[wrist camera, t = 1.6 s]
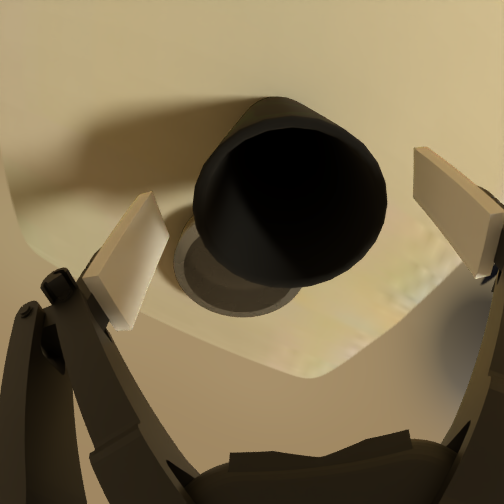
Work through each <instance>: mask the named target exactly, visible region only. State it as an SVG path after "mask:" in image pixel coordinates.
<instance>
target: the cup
mask: <svg viewBox="0 0 504 504" xmlns="http://www.w3.org/2000/svg"><path fill="white" fill-rule="evenodd" d="M386 209H387V193H386V183H385V180H384V177H383V175H382V172H381V170H380V167H379V164H378V162H377V161H376V159H375V158H374V157H373V155H372V154H371V153H370V151H369V150H368V149H367V148H366V146H365V145H364V144H363V143H362V142H361V141H359V140H358V139H357V138H355V137H354V136H353V135H351V134H350V133H349V132H347V131H346V130H345V129H343V128H342V127H340V126H338V125H337V124H335V123H334V122H332V121H330V120H329V119H327V118H325V117H323V116H322V115H320V114H318V113H317V112H315V111H313V110H311V109H310V108H308V107H306V106H304V105H302V104H301V103H299V102H297V101H295V100H292V99H289V98H286V97H270V98H266V99H263V100H261V101H258V102H257V103H255V104H254V105H253V106H251V107H250V108H249V109H248V111H247V112H246V113H245V114H244V115H243V116H242V118H241V119H240V120H239V121H238V122H237V124H236V125H235V126H234V127H233V128H232V130H231V131H230V132H229V133H228V135H227V136H226V137H225V138H224V140H223V141H222V142H221V143H220V145H219V146H218V147H217V148H216V150H215V151H214V152H213V153H212V155H211V156H210V157H209V159H208V160H207V161H206V162H205V164H204V165H203V168H202V170H201V172H200V175H199V177H198V180H197V182H196V185H195V189H194V198H193V214H194V220H195V225H196V229H197V231H198V234H199V236H200V238H201V240H202V242H203V244H204V246H205V248H206V249H207V250H208V251H209V252H210V254H211V255H212V256H213V257H214V259H215V260H216V261H217V262H218V263H219V264H221V265H222V266H223V267H225V268H226V269H227V270H229V271H230V272H231V273H232V274H234V275H236V276H239V277H241V278H243V279H245V280H247V281H249V282H251V283H255V284H259V285H263V286H267V287H274V288H299V287H307V286H313V285H316V284H319V283H322V282H325V281H328V280H331V279H333V278H335V277H336V276H338V275H340V274H342V273H344V272H346V271H347V270H349V269H350V268H351V267H352V266H354V265H355V264H356V263H357V262H358V261H360V260H361V259H362V258H363V257H364V256H365V255H366V253H367V252H368V251H369V249H370V248H371V247H372V246H373V244H374V243H375V242H376V240H377V237H378V235H379V233H380V231H381V229H382V226H383V224H384V220H385V214H386Z"/></svg>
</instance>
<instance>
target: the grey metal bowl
mask: <svg viewBox="0 0 504 504" xmlns="http://www.w3.org/2000/svg"><path fill="white" fill-rule="evenodd" d="M174 271H175V276H176V278H177V281H178V283H179V285H180V286H181V288H182V289H183V291H184V292H185V293H186V294H187V295H188V296H189V297H190V298H191V299H192V300H193V301H195V302H196V303H197V304H199V305H200V306H202V307H204V308H206V309H208V310H210V311H212V312H215V313H218V314H222V315H226V316H232V317H254V316H260V315H264V314H268V313H270V312H273V311H275V310H277V309H279V308H281V307H283V306H284V305H286V304H287V303H289V302H290V301H291V300H292V299H293V298H294V297H295V296H296V295H297V294H298V292H299V291H300V289H301V287H299V288H274V287H267V286H263V285H259V284H255V283H251V282H249V281H247V280H245V279H243V278H241V277H239V276H236V275H234V274H232V273H231V272H230V271H229V270H227V269H226V268H225V267H223V266H222V265H221V264H219V263H218V262H217V261H216V260H215V259H214V257H213V256H212V255H211V254H210V252H209V251H208V250H207V249H206V248H205V246H204V244H203V242H202V240H201V238H200V236H199V234H198V231H197V229H196V225H195V220H194V215H193V216H192V217H191V218H190V220H189V221H188V222H187V224H186V225H185V227H184V229H183V231H182V234H181V237H180V239H179V242H178V245H177V248H176V251H175V254H174Z"/></svg>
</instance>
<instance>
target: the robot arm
mask: <svg viewBox="0 0 504 504" xmlns="http://www.w3.org/2000/svg"><path fill="white" fill-rule="evenodd" d="M413 198H414V199H415V200H416V201H417V203H418V204H419V205H420V206H421V207H422V209H423V210H424V211H425V212H426V213H427V215H428V216H429V217H430V218H431V220H432V221H433V222H434V223H435V225H436V226H437V227H438V228H439V230H440V231H441V232H442V234H443V235H444V236H445V237H446V239H447V240H448V241H449V243H450V244H451V245H452V247H453V248H454V249H455V251H456V252H457V254H458V255H459V256H460V258H461V259H462V261H463V262H464V263H465V265H466V266H467V268H468V269H469V271H470V272H471V273H472V275H473V276H474V278H475V279H477V278H481V277H485V276H489V275H490V274H491V270H492V267H493V264H494V263H495V264H496V265H497V267H498V268H499V270H498V273H497V276H496V279H495V282H494V285H493V288H492V292H494V293H493V298H492V303H491V307H490V312H489V316H488V320H487V325H486V328H485V332H484V336H483V340H482V343H481V347H480V350H479V354H478V357H477V360H476V363H475V366H474V369H473V372H472V375H471V378H470V381H469V384H468V387H467V389H466V392H465V395H464V397H463V400H462V402H461V405H460V407H459V410H458V412H457V415H456V417H455V419H454V422H453V424H452V426H451V428H450V429H449V431H448V433H447V434H446V436H445V438H444V439H443V441H442V443H441V444H439V443H436V442H432V441H428V440H420V439H410V434H409V430H404V431H400V432H396V433H392V434H388V435H383V436H379V437H374V438H370V439H365V440H363V441H361V442H359V443H356V444H354V445H352V446H349V447H347V448H344V449H342V450H339V451H337V452H335V453H332V454H329V455H327V456H323V457H311V456H302V455H295V454H288V453H281V452H275V451H268V452H243V453H230V459H229V463H225V464H222V465H219V466H216V467H214V468H212V469H209V470H208V471H205V472H204V473H202V474H199V473H198V472H197V470H196V469H194V467H193V466H192V465H191V464H190V463H189V462H188V461H187V460H186V459H185V457H184V456H183V455H182V453H181V452H180V451H179V449H178V448H177V446H176V445H175V443H174V442H173V440H172V439H171V438H170V436H169V435H168V433H167V432H166V430H165V429H164V427H163V426H162V424H161V423H160V421H159V419H158V418H157V416H156V415H155V413H154V412H153V410H152V408H151V407H150V405H149V404H148V402H147V400H146V399H145V397H144V395H143V394H142V392H141V390H140V388H139V387H138V385H137V383H136V382H135V380H134V378H133V376H132V375H131V373H130V371H129V369H128V367H127V365H126V364H125V362H124V360H123V358H122V356H121V354H120V352H119V351H118V348H117V346H116V345H115V343H114V341H113V339H112V337H111V335H110V333H109V332H108V330H107V329H106V327H107V324H108V322H109V321H110V323H111V324H112V325H113V327H114V328H115V330H116V331H123V330H132V329H133V326H134V323H135V320H136V318H137V315H138V312H139V310H140V307H141V305H142V302H143V300H144V297H145V294H146V292H147V289H148V287H149V284H150V282H151V279H152V277H153V275H154V272H155V270H156V267H157V265H158V262H159V260H160V258H161V255H162V253H163V251H164V248H165V246H166V244H167V241H168V239H169V237H170V236H169V233H168V231H167V228H166V226H165V223H164V220H163V218H162V215H161V213H160V210H159V207H158V205H157V202H156V200H155V197H154V194H153V191H150V192H146V193H142V194H139V195H138V197H137V198H136V199H135V201H134V202H133V203H132V205H131V206H130V207H129V209H128V210H127V211H126V213H125V214H124V216H123V217H122V218H121V220H120V221H119V223H118V224H117V225H116V227H115V228H114V230H113V231H112V233H111V234H110V236H109V237H108V239H107V240H106V241H105V243H104V244H103V246H102V247H101V248H100V249H99V250H98V251H97V252H96V253H95V254H94V255H93V257H92V258H91V260H90V263H88V264H87V266H86V269H84V271H83V272H82V274H81V275H80V277H79V279H78V280H77V282H75V280H74V279H73V277H72V275H71V274H70V272H69V270H68V269H67V268H60V269H57V270H55V271H53V272H52V273H51V274H49V275H48V276H47V277H46V278H45V279H44V280H43V282H42V284H41V290H42V291H43V293H44V294H45V295H46V297H47V298H48V300H49V301H50V303H51V304H52V305H51V306H49V307H46V308H44V309H42V308H41V306H40V305H39V304H38V302H37V301H31V302H28V303H27V304H25V305H23V307H21V308H20V310H19V311H18V313H17V314H16V317H15V320H14V324H13V329H12V333H11V337H10V342H9V346H8V351H7V356H6V361H5V367H4V373H3V379H2V386H1V394H0V504H87V500H86V496H85V490H84V485H83V480H82V474H81V468H80V462H79V455H78V447H77V439H76V430H75V419H74V406H73V390H74V394H75V397H76V399H77V403H78V405H79V408H80V411H81V414H82V417H83V419H84V422H85V425H86V427H87V430H88V432H89V435H90V437H91V439H92V442H93V444H94V448H95V451H93V452H91V453H90V456H89V459H90V462H91V465H92V467H93V470H94V472H95V474H96V476H97V479H98V481H99V483H100V485H101V487H102V489H103V491H104V494H105V496H106V498H107V499H108V501H109V503H110V504H504V205H503V204H502V203H500V201H499V200H498V199H497V198H494V196H493V195H492V194H491V193H490V192H489V191H487V190H485V189H483V188H481V187H479V186H477V185H475V184H474V183H473V182H472V181H471V180H469V179H468V178H467V177H466V176H465V175H463V174H462V173H461V172H460V171H458V170H457V169H456V168H455V167H453V166H452V165H451V164H449V163H448V162H447V161H445V160H444V159H443V158H441V157H440V156H439V155H437V154H436V153H435V152H433V151H432V150H431V149H429V148H428V147H417V148H414V184H413Z"/></svg>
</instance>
